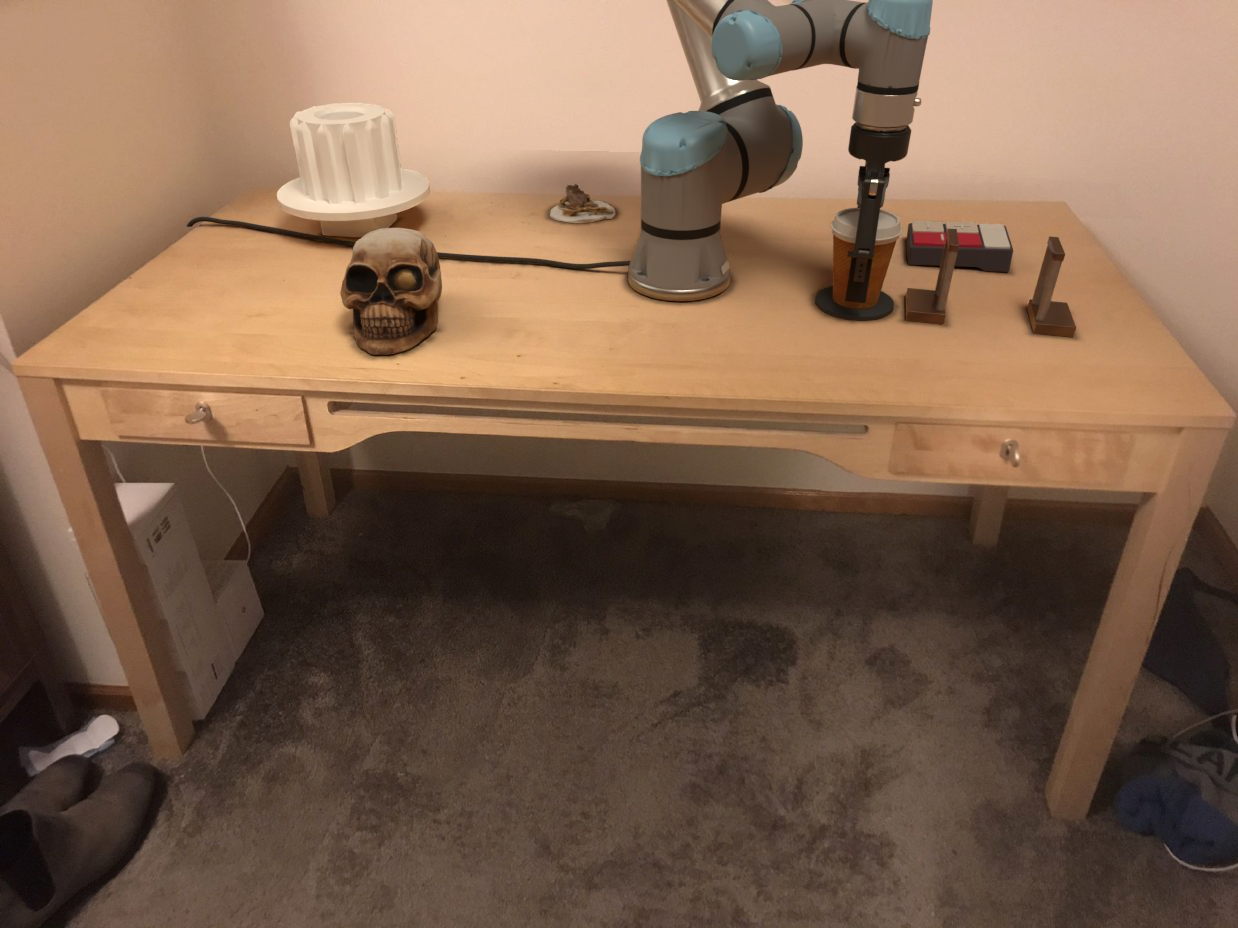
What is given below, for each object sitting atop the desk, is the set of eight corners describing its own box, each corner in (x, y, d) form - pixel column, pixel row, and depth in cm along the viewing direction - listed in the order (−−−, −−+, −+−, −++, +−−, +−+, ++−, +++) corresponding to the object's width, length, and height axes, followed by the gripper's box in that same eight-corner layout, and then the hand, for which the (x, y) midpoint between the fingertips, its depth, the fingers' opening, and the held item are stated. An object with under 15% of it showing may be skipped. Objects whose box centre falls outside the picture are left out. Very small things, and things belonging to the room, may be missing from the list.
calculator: (908, 218, 147) (1006, 220, 144) (905, 243, 150) (1001, 246, 146) (910, 242, 138) (1014, 245, 135) (907, 268, 141) (1009, 272, 138)
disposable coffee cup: (819, 310, 126) (830, 227, 119) (823, 283, 133) (833, 204, 127) (889, 317, 124) (904, 233, 117) (889, 289, 132) (903, 209, 125)
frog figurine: (538, 207, 164) (536, 186, 161) (598, 198, 168) (597, 177, 165) (561, 227, 155) (560, 205, 153) (624, 217, 159) (624, 195, 157)
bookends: (906, 320, 124) (920, 244, 118) (905, 297, 131) (919, 223, 124) (1073, 337, 120) (1097, 259, 114) (1064, 312, 126) (1087, 237, 120)
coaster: (812, 316, 126) (812, 312, 125) (817, 285, 135) (818, 281, 134) (893, 324, 124) (894, 320, 123) (893, 292, 132) (894, 288, 132)
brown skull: (374, 360, 115) (355, 257, 109) (325, 326, 128) (305, 232, 121) (481, 330, 123) (469, 233, 117) (425, 301, 136) (411, 212, 129)
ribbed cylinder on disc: (404, 258, 144) (386, 137, 133) (258, 250, 147) (229, 130, 136) (452, 206, 164) (440, 97, 153) (323, 200, 168) (302, 92, 157)
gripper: (913, 152, 105) (883, 322, 117) (911, 103, 124) (884, 254, 136) (847, 148, 106) (824, 316, 119) (855, 100, 125) (834, 250, 138)
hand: (856, 283), depth 127 cm, fingers open, 11 cm apart
